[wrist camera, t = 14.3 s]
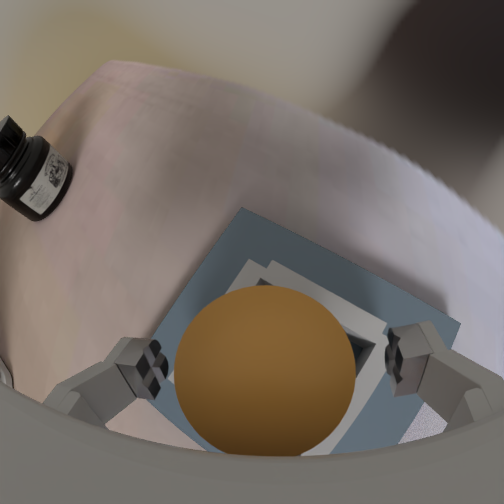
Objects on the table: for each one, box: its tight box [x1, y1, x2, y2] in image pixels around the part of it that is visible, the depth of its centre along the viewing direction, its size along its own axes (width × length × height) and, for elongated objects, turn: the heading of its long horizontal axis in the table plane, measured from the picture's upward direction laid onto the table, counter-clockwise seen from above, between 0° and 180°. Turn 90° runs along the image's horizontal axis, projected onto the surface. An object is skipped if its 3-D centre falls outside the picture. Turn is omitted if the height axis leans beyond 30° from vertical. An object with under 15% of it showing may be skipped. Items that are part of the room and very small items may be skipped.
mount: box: [147, 208, 461, 456], centre depth 13 cm, size 16×14×5 cm
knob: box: [174, 285, 356, 456], centre depth 10 cm, size 5×5×8 cm
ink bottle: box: [0, 115, 72, 222], centre depth 23 cm, size 10×9×12 cm
